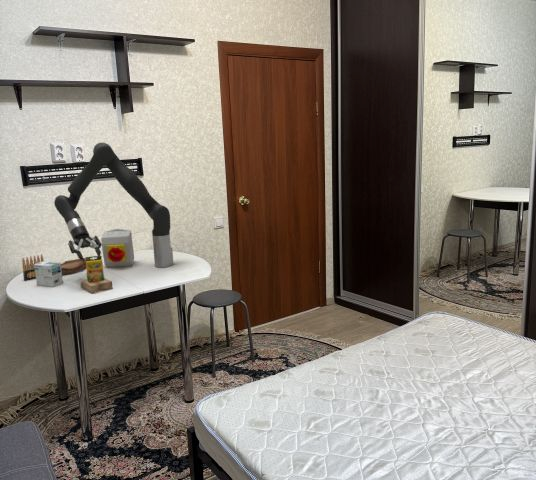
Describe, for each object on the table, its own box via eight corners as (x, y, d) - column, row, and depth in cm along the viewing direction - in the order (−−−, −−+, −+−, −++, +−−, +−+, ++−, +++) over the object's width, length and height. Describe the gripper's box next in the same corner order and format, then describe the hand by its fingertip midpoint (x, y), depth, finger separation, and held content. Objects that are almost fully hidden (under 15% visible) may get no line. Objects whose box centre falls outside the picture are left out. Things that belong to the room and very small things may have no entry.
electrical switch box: (103, 273, 267) (98, 239, 260) (108, 262, 281) (103, 229, 273) (131, 272, 269) (127, 237, 261) (134, 261, 282) (130, 228, 275)
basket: (71, 263, 283) (69, 255, 282) (96, 267, 274) (95, 258, 272) (36, 274, 263) (35, 265, 262) (63, 278, 254) (62, 269, 253)
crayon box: (88, 282, 232) (85, 258, 230) (87, 281, 235) (84, 257, 232) (104, 280, 235) (101, 256, 233) (103, 278, 238) (101, 255, 235)
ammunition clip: (45, 275, 259) (42, 253, 256) (46, 276, 257) (43, 254, 255) (23, 280, 252) (20, 257, 249) (24, 281, 251) (21, 258, 248)
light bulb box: (63, 283, 246) (61, 261, 243) (53, 287, 239) (51, 265, 237) (46, 281, 249) (43, 260, 247) (36, 285, 243) (33, 264, 240)
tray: (101, 283, 243) (100, 276, 242) (112, 288, 235) (111, 281, 234) (81, 288, 237) (80, 280, 236) (92, 293, 228) (91, 286, 227)
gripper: (64, 227, 233) (77, 255, 227) (93, 222, 242) (107, 249, 237) (61, 237, 238) (74, 264, 232) (90, 232, 247) (103, 258, 242)
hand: (90, 256), depth 234 cm, fingers open, 8 cm apart
